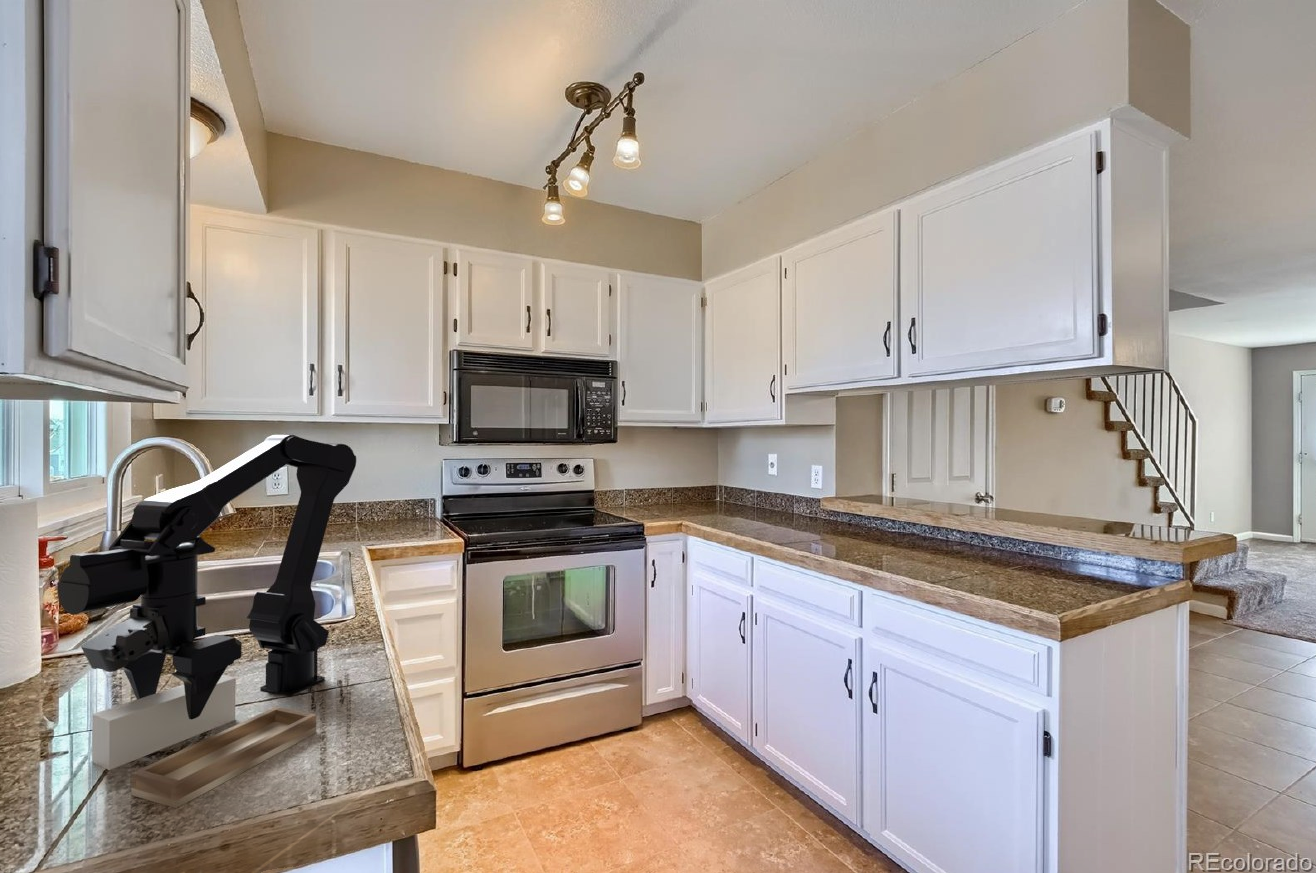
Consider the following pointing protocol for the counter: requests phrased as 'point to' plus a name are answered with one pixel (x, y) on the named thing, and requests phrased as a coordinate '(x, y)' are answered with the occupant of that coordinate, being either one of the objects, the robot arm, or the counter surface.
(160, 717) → the white rectangular block
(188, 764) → the brown rectangular tray
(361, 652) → the counter surface
